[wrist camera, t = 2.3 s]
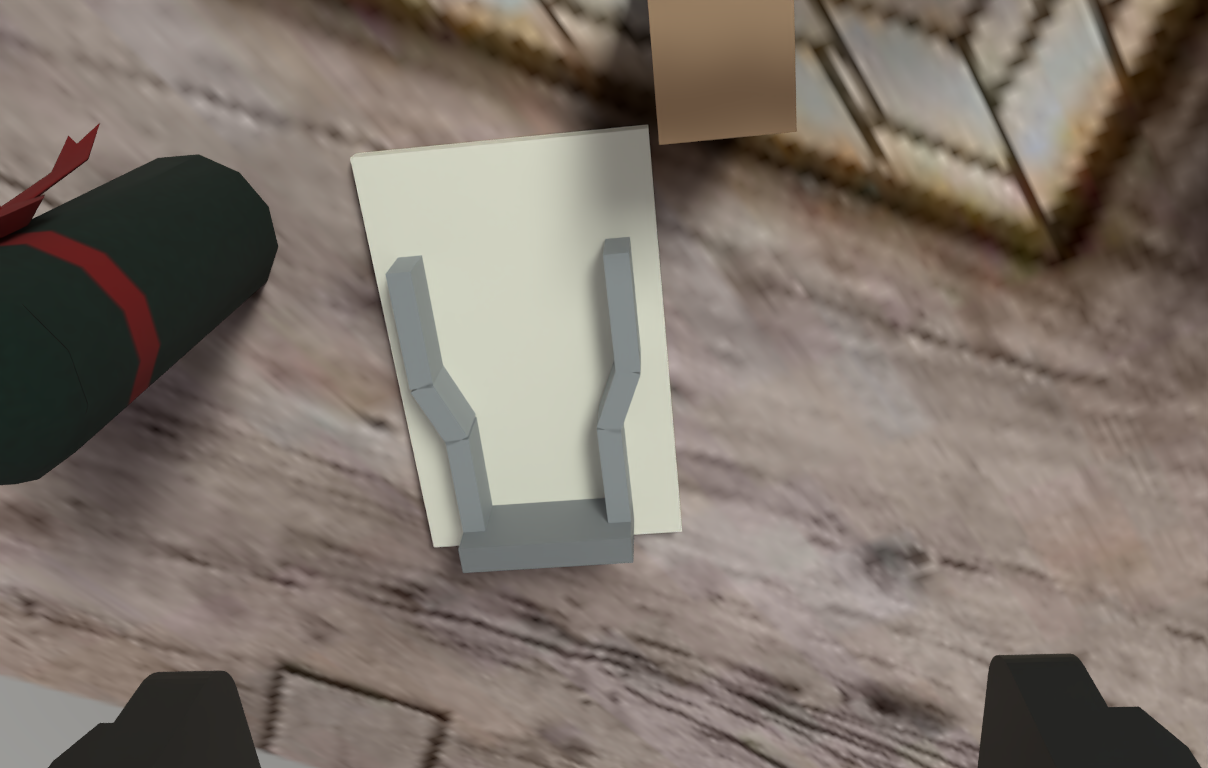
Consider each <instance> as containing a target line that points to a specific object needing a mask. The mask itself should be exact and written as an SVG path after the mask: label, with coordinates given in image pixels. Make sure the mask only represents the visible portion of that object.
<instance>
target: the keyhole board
mask: <svg viewBox="0 0 1208 768" xmlns="http://www.w3.org/2000/svg"><path fill="white" fill-rule="evenodd" d="M350 159H351V164H352V169H353V173H354V178H355V183H356V187H357V192H358V197H359V201H360V206H361V211H362V215H363V220H364V224H365V229H366V234H367V238H368V243H369V248H370V252H371V257H372V262H373V266H374V271H375V276H376V280H377V285H378V290H379V294H380V299H381V303H382V308H383V313H384V317H385V322H386V327H387V331H388V336H389V341H390V345H391V350H392V355H393V359H394V364H395V369H396V373H397V378H398V382H399V387H400V392H401V396H402V401H403V406H404V410H405V415H406V420H407V424H408V429H409V434H410V438H411V443H412V447H413V452H414V457H415V461H416V466H417V471H418V475H419V480H420V485H421V489H422V494H423V499H424V503H425V508H426V513H427V517H428V522H429V526H430V531H431V536H432V540H433V545H434V547H448V546H459V548H458V551H459V556H460V561H461V565H462V570H463V573H470V572H487V571H503V570H519V569H536V568H552V567H568V566H584V565H601V564H617V563H633V554H634V535H636V534H651V533H667V532H682V524H681V511H680V499H679V487H678V475H677V463H676V451H675V439H674V427H673V415H672V403H671V391H670V379H669V367H668V355H667V343H666V331H665V320H664V308H663V296H662V284H661V272H660V260H659V248H658V236H657V224H656V212H655V200H654V188H653V176H652V164H651V152H650V140H649V128H648V125H638V126H628V127H618V128H607V129H597V130H587V131H577V132H567V133H557V134H547V135H537V136H526V137H516V138H506V139H496V140H486V141H476V142H466V143H456V144H446V145H435V146H425V147H415V148H405V149H395V150H385V151H375V152H365V153H356V154H355V155H353V156H352V157H351V158H350Z"/></svg>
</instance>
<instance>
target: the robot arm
mask: <svg viewBox="0 0 1208 768" xmlns="http://www.w3.org/2000/svg"><path fill="white" fill-rule="evenodd" d="M48 768H261V767H260V763H259V760H258V756H257V753H256V750H255V747H254V743H253V740H252V737H251V733H250V730H249V727H248V724H247V720H246V717H245V714H244V710H243V707H242V704H241V701H240V697H239V694H238V691H237V687H236V685H235V682H234V680H233V678H232V677H231V676H230V675H229V673H227V672H225V671H182V672H156V673H153V674H151V675H149V676H148V677H147V678H146V679H145V680H144V681H143V682H142V683H141V684H140V686H139V687H138V689H137V690H136V692H135V693H134V694H133V696H132V697H131V699H130V700H129V702H128V703H127V704H126V706H125V707H124V709H123V710H122V712H121V713H120V715H119V716H118V717H117V719H116V720H115V722H114V723H100V724H98V725H97V726H96V727H94V728H93V729H92V730H91V731H89V732H88V733H87V734H86V735H85V736H83V737H82V738H81V739H80V740H78V741H77V742H76V743H75V744H73V745H72V746H71V747H70V748H69V749H67V750H66V751H65V752H64V753H62V754H61V755H60V756H59V757H58V758H56V759H55V760H54V761H53V762H52V763H51V765H50V766H49V767H48ZM978 768H1201V767H1200V765H1199V763H1198V762H1197V760H1196V759H1195V757H1194V756H1193V754H1192V753H1191V751H1190V750H1189V748H1188V747H1187V746H1186V745H1185V744H1183V743H1182V742H1181V741H1180V740H1179V739H1177V738H1176V737H1175V736H1174V735H1173V734H1171V733H1170V732H1169V731H1168V730H1167V729H1165V728H1164V727H1163V726H1162V725H1161V724H1159V723H1158V722H1157V721H1156V720H1154V719H1153V718H1152V717H1151V716H1150V715H1148V714H1147V713H1146V712H1145V711H1144V710H1142V709H1141V708H1140V707H1108V706H1107V704H1106V703H1105V701H1104V699H1103V697H1102V696H1101V694H1100V692H1099V691H1098V689H1097V687H1096V685H1095V684H1094V682H1093V680H1092V678H1091V677H1090V675H1089V673H1088V672H1087V670H1086V668H1085V666H1084V665H1083V663H1082V662H1081V661H1080V660H1079V658H1078V657H1076V656H1075V655H1074V654H1030V655H997V656H994V657H993V659H992V661H991V663H990V666H989V672H988V681H987V689H986V698H985V707H984V716H983V724H982V733H981V742H980V751H979V760H978Z"/></svg>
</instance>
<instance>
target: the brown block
mask: <svg viewBox="0 0 1208 768" xmlns="http://www.w3.org/2000/svg"><path fill="white" fill-rule="evenodd" d="M648 11H649V23H650V36H651V48H652V61H653V73H654V86H655V99H656V111H657V124H658V136H659V145H664V144H674V143H684V142H695V141H705V140H715V139H726V138H736V137H746V136H757V135H767V134H777V133H788V132H797V128H796V77H795V26H794V0H648Z"/></svg>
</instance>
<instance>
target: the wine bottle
mask: <svg viewBox="0 0 1208 768" xmlns="http://www.w3.org/2000/svg"><path fill="white" fill-rule="evenodd" d="M99 124H100V123H99ZM99 124H98V125H97V126H96V127H95V128H94V129H93V130H92V131H90V132H89V133H88V134H87V135H86V136H85V137H84V138H83V139H82V140H81V141H80V142H79V143H77V144H76V143H75V142H74V141H73V140H72V139H71V138H70V137H69V136H68V138H67V140H66V142H65V144H64V146H63V149H62V151H61V153H60V155H59V157H58V159H57V161H56V164H55V166H54V168H53V170H52V172H51V173H50V174H48V175H47V176H45V177H44V178H42V179H41V180H39V181H38V182H37V183H35V184H34V185H32V186H31V187H29V188H28V189H26V190H25V191H23V192H22V193H20V194H19V195H18V196H16V197H15V198H13V199H12V200H10V201H9V202H7V203H6V204H4V205H3V206H0V485H9V484H19V483H23V482H28V481H32V480H37V479H39V478H41V477H42V476H44V475H45V474H46V473H48V472H49V471H50V470H52V469H53V468H54V467H56V466H57V465H59V464H60V463H61V462H63V461H64V460H65V459H67V458H68V457H69V456H71V455H72V454H73V453H75V452H76V451H77V450H78V449H80V448H81V447H82V446H83V445H84V444H85V443H86V442H87V441H89V440H90V439H91V438H92V437H93V436H94V435H95V434H96V433H98V432H99V431H100V430H101V429H102V428H103V427H104V426H105V425H106V424H108V423H109V422H110V421H111V420H112V419H113V418H114V417H115V416H117V415H118V414H119V413H120V412H121V411H122V410H123V409H124V408H126V407H127V406H128V405H129V404H130V403H131V402H132V401H133V400H135V399H136V398H137V397H138V396H139V395H140V394H141V393H142V392H143V391H145V390H146V389H147V388H148V387H149V386H150V385H151V384H152V383H154V382H155V381H156V380H157V379H158V378H159V377H160V376H161V375H163V374H164V373H165V372H166V371H167V370H168V369H169V368H170V367H172V366H173V365H174V364H175V363H176V362H177V361H178V360H179V359H180V358H182V357H183V356H184V355H185V354H186V353H187V352H188V351H189V350H191V349H192V348H193V347H194V346H195V345H196V344H197V343H198V342H200V341H201V340H202V339H203V338H204V337H205V336H206V335H207V334H209V333H210V332H211V331H212V330H213V329H214V328H215V327H216V326H217V325H219V324H220V323H221V322H222V321H223V320H224V319H225V318H226V317H228V316H229V315H230V314H231V313H232V312H233V311H234V310H235V309H237V308H238V307H239V306H240V305H241V304H242V303H243V302H244V301H246V300H247V299H248V298H249V297H250V296H251V295H252V294H253V293H254V292H256V291H257V290H258V289H259V288H260V287H261V286H262V285H263V284H265V283H266V282H267V280H268V276H269V273H270V270H271V267H272V264H273V261H274V258H275V255H276V252H277V249H278V244H277V240H276V236H275V232H274V227H273V223H272V219H271V215H270V211H269V207H268V206H267V204H266V203H265V202H264V201H263V200H262V198H261V197H260V196H259V195H258V194H257V193H256V191H255V190H254V189H253V188H252V187H251V186H250V184H249V183H248V182H247V181H246V180H245V179H244V177H243V176H242V175H241V174H240V173H239V172H237V171H235V170H232V169H230V168H228V167H226V166H223V165H221V164H219V163H217V162H214V161H212V160H210V159H208V158H205V157H203V156H201V155H187V156H176V157H164V158H157V159H155V160H153V161H151V162H149V163H147V164H145V165H143V166H141V167H138V168H136V169H134V170H132V171H130V172H128V173H126V174H124V175H122V176H120V177H118V178H116V179H114V180H112V181H110V182H108V183H106V184H103V185H101V186H99V187H97V188H95V189H93V190H91V191H89V192H87V193H85V194H83V195H81V196H79V197H77V198H75V199H73V200H71V201H68V202H66V203H64V204H62V205H60V206H58V207H56V208H54V209H52V210H50V211H48V212H46V213H44V214H42V215H40V216H38V217H35V218H33V216H34V214H35V212H36V210H37V208H38V207H39V205H40V203H41V201H42V200H43V198H44V195H42V196H40V195H41V194H43V193H44V192H45V191H47V190H48V189H49V188H51V187H52V186H53V185H55V184H56V183H58V182H59V181H60V180H62V179H63V178H64V177H66V176H67V175H68V174H70V173H71V172H72V171H74V170H75V169H76V168H78V167H79V166H80V165H82V164H83V163H84V162H86V161H87V160H88V159H89V156H90V152H91V149H92V146H93V143H94V140H95V137H96V134H97V130H98V127H99ZM32 218H33V219H32Z"/></svg>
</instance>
